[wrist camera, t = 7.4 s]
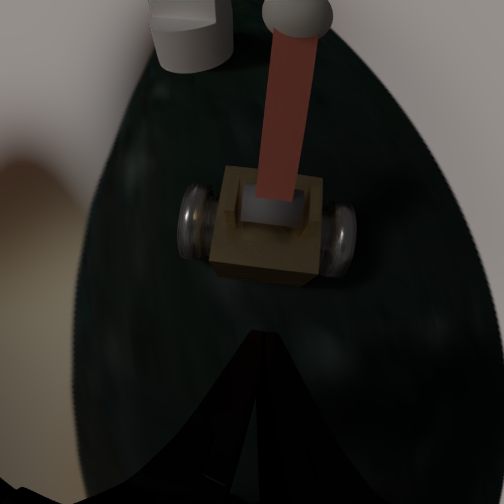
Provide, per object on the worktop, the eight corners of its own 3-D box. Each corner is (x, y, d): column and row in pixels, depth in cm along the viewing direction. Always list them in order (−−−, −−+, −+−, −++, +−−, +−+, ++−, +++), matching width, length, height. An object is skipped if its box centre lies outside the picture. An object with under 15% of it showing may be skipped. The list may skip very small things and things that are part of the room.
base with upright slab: (144, 66, 26) (119, -13, 15) (187, 31, 28) (176, -40, 17) (207, 80, 25) (195, -17, 14) (246, 42, 27) (248, -39, 16)
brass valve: (330, 289, 20) (373, 269, 13) (188, 272, 20) (157, 242, 13) (334, 213, 22) (370, 164, 14) (202, 196, 22) (184, 139, 14)
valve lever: (298, 241, 14) (342, -16, 6) (238, 233, 14) (263, -28, 6) (296, 211, 16) (329, -1, 9) (245, 204, 16) (266, -11, 9)
